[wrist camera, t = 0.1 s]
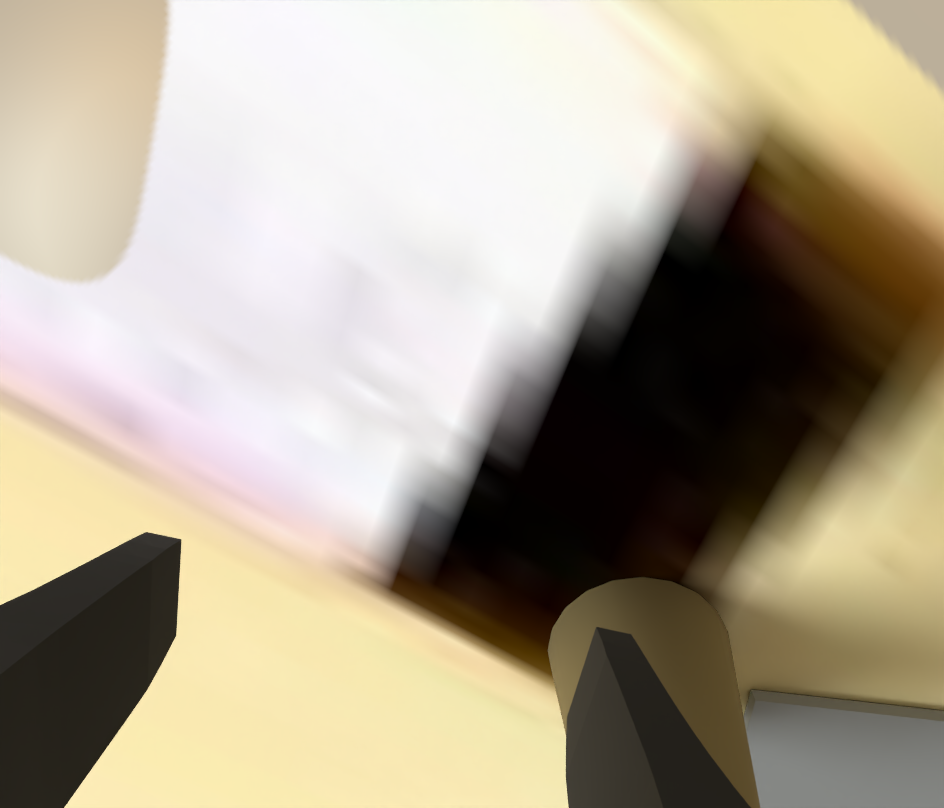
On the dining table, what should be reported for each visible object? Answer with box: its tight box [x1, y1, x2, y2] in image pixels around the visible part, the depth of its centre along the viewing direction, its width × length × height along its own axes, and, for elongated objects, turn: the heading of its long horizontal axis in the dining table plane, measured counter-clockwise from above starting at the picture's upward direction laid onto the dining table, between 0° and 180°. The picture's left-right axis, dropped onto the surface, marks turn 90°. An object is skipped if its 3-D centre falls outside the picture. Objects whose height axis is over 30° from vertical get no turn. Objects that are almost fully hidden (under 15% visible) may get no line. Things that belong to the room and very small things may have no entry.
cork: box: [548, 577, 760, 808], centre depth 19 cm, size 6×6×11 cm
